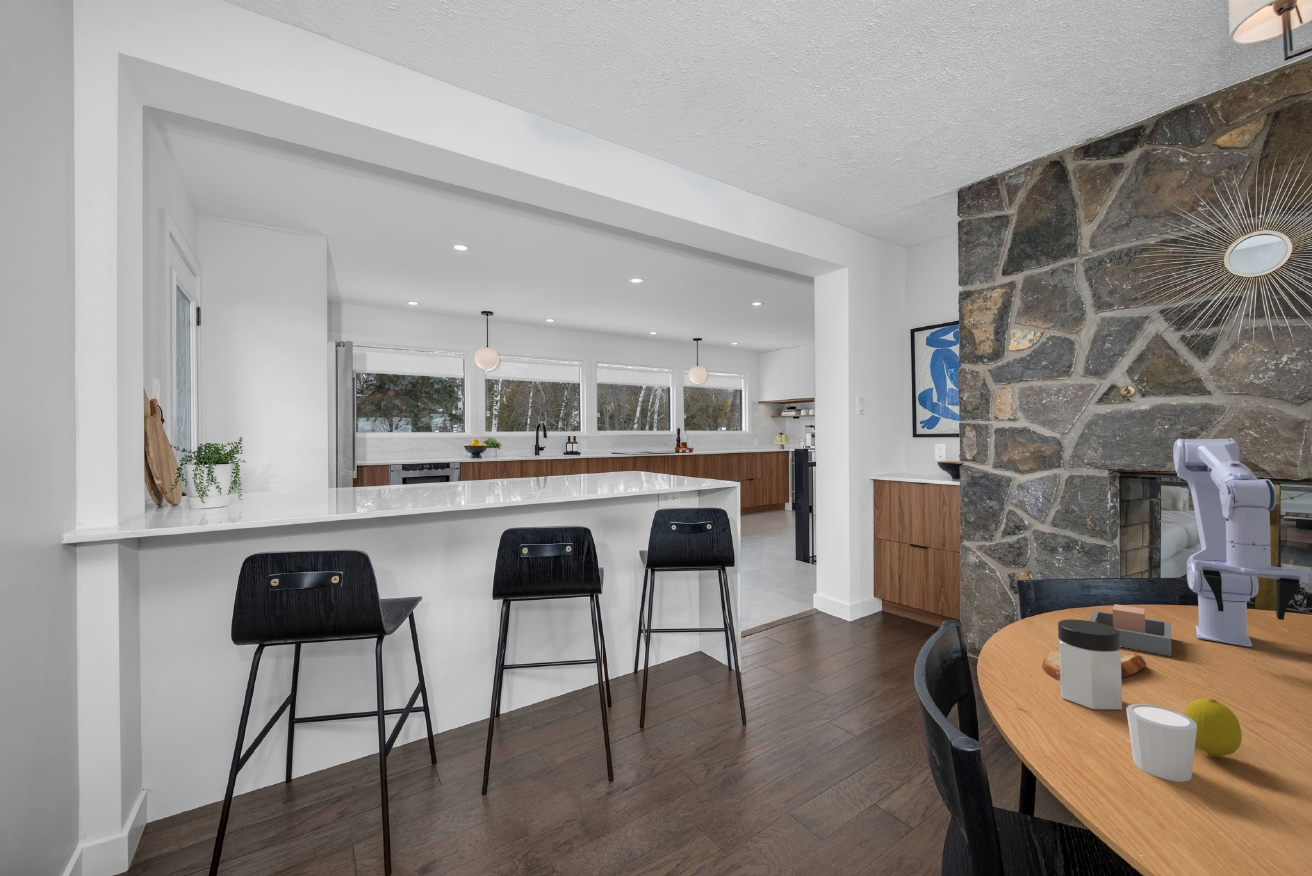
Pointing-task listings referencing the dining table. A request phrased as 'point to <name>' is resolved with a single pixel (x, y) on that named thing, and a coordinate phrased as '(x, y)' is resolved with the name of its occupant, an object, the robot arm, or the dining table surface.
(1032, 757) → the dining table surface
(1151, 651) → the bin
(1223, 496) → the robot arm
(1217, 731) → the lemon
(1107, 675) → the jar
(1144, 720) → the white cup
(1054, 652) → the bread slice
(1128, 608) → the block
